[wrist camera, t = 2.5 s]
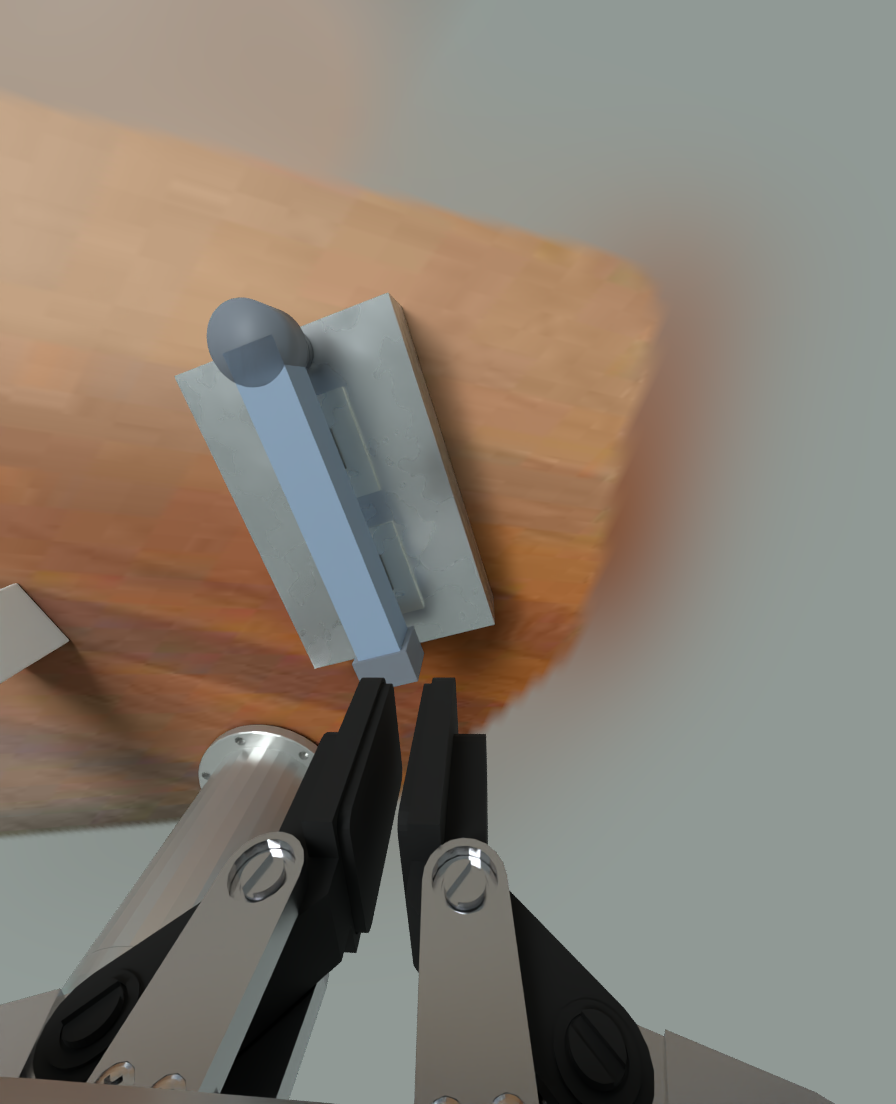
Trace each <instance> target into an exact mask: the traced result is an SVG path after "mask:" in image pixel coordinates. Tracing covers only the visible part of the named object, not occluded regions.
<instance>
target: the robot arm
mask: <svg viewBox="0 0 896 1104" xmlns="http://www.w3.org/2000/svg"><path fill="white" fill-rule="evenodd" d="M486 755H487V754H486V734H458V718H457V699H456V682H455V678H433V679H432V684H424V687H423V692H422V697H421V702H420V707H419V712H418V717H417V722H416V727H415V732H414V737H413V742H412V747H411V752H410V757H409V762H408V767H407V772H406V777H405V781H404V786H403V791H402V796H401V801H400V806H399V813H398V840H399V848H400V857H401V865H402V874H403V882H404V890H405V898H406V907H407V915H408V923H409V931H410V940H411V948H412V956H413V964H414V967H415V968H416V970H417V971H418V972H419V985H418V986H419V987H418V1014H417V1042H416V1043H417V1044H416V1071H415V1073H416V1074H415V1100H414V1104H834V1103H833V1102H831V1101H829V1100H827V1099H826V1098H824V1097H822V1096H821V1095H819V1094H818V1093H816V1092H814V1091H811V1090H809V1089H807V1088H804V1087H802V1086H799V1085H797V1084H795V1083H792V1082H790V1081H788V1080H785V1079H783V1078H780V1077H778V1076H775V1075H773V1074H771V1073H768V1072H766V1071H764V1070H761V1069H759V1068H756V1067H754V1066H752V1065H749V1064H747V1063H744V1062H742V1061H740V1060H737V1059H735V1058H733V1057H730V1056H728V1055H725V1054H723V1053H721V1052H718V1051H716V1050H713V1049H711V1048H708V1047H706V1046H704V1045H701V1044H699V1043H697V1042H694V1041H692V1040H689V1039H687V1038H685V1037H682V1036H680V1035H678V1034H675V1033H673V1032H670V1031H668V1030H665V1034H664V1036H662V1035H660V1034H658V1033H655V1032H653V1031H651V1030H648V1029H646V1028H643V1027H641V1026H639V1025H637V1024H636V1023H635V1022H634V1020H633V1019H632V1018H631V1016H630V1015H629V1014H628V1013H627V1011H626V1010H625V1009H624V1008H623V1007H622V1006H621V1004H620V1003H619V1002H618V1001H617V1000H616V999H615V998H614V997H613V996H612V995H611V994H610V993H609V992H608V991H607V990H606V989H605V988H604V987H603V986H602V985H601V984H600V983H599V982H598V981H597V980H596V979H595V978H594V977H593V976H592V975H591V974H590V973H589V972H588V971H587V970H586V969H585V968H584V967H583V966H582V964H581V963H580V962H578V960H576V958H575V957H574V956H573V955H572V954H571V953H570V952H569V951H568V950H567V949H566V948H565V947H564V946H563V945H562V944H561V943H560V942H559V941H558V940H557V939H556V938H555V937H554V936H553V935H552V934H551V933H550V932H549V931H548V930H547V929H546V928H545V927H544V926H543V925H542V924H541V922H540V921H539V920H538V919H537V918H536V917H534V915H533V914H532V913H531V912H530V911H529V910H528V909H527V908H526V907H525V906H524V905H523V904H522V903H521V902H520V901H519V900H518V899H517V898H516V897H515V896H514V895H513V894H512V893H511V892H510V891H509V886H508V879H507V874H506V870H505V867H504V863H503V861H502V860H501V858H500V857H499V855H498V854H497V852H496V851H495V850H493V849H492V848H491V847H490V846H488V830H487V829H488V826H487V825H488V819H487V758H486V757H487V756H486ZM198 775H199V782H200V787H201V791H200V792H199V793H198V795H197V796H196V798H195V799H194V801H193V802H192V803H191V805H190V806H189V808H188V809H187V811H186V812H185V813H184V815H183V816H182V818H181V819H180V820H179V822H178V823H177V825H176V826H175V828H174V829H173V830H172V832H171V833H170V835H169V836H168V838H167V839H166V840H165V842H164V843H163V845H162V846H161V847H160V849H159V850H158V852H157V853H156V855H155V856H154V858H153V859H152V860H151V862H150V863H149V865H148V866H147V867H146V869H145V870H144V872H143V873H142V875H141V876H140V877H139V879H138V880H137V882H136V883H135V884H134V886H133V887H132V889H131V890H130V892H129V893H128V894H127V896H126V897H125V899H124V900H123V902H122V903H121V904H120V906H119V907H118V909H117V910H116V911H115V913H114V914H113V916H112V917H111V919H110V920H109V921H108V923H107V924H106V926H105V927H104V929H103V930H102V931H101V933H100V934H99V936H98V937H97V939H96V940H95V942H94V943H93V944H92V946H91V947H90V948H89V950H88V952H87V953H86V954H85V956H84V957H83V958H82V960H81V961H80V963H79V964H78V966H77V967H76V969H75V970H74V971H73V973H72V974H71V976H70V977H69V978H68V980H67V981H66V983H65V984H64V986H63V987H62V989H57V990H53V991H49V992H45V993H42V994H38V995H34V996H31V997H27V998H24V999H20V1000H16V1001H12V1002H9V1003H5V1004H2V1005H0V1104H331V1103H320V1102H308V1101H297V1100H289V1098H290V1095H291V1092H292V1089H293V1086H294V1083H295V1080H296V1077H297V1074H298V1071H299V1068H300V1065H301V1062H302V1059H303V1056H304V1053H305V1050H306V1047H307V1044H308V1041H309V1038H310V1035H311V1032H312V1029H313V1026H314V1023H315V1020H316V1017H317V1014H318V1011H319V1008H320V1006H321V1002H322V999H323V997H324V994H325V991H326V987H327V982H328V977H329V972H330V971H331V970H332V969H333V968H334V967H336V966H337V965H338V964H339V963H340V962H341V961H342V957H343V953H344V952H350V953H356V952H357V947H358V944H359V939H360V934H361V933H368V932H369V931H370V928H371V925H372V920H373V916H374V911H375V906H376V901H377V896H378V891H379V886H380V881H381V877H382V873H383V868H384V863H385V858H386V853H387V849H388V844H389V839H390V834H391V829H392V825H393V820H394V815H395V810H396V805H397V801H398V796H399V791H400V786H401V781H402V761H401V752H400V742H399V733H398V724H397V715H396V706H395V696H394V688H393V684H392V683H386V680H385V678H379V677H363V678H361V680H360V682H359V684H358V687H357V689H356V691H355V694H354V696H353V699H352V701H351V703H350V706H349V708H348V710H347V713H346V715H345V718H344V720H343V722H342V725H341V727H340V729H339V732H327V733H325V734H324V735H323V737H322V739H321V741H320V743H319V745H318V746H316V745H315V744H314V743H312V742H311V741H309V740H308V739H306V738H305V737H303V736H301V735H299V734H297V733H295V732H293V731H290V730H287V729H283V728H280V727H276V726H269V725H247V726H241V727H237V728H234V729H232V730H229V731H227V732H225V733H224V734H222V735H221V736H219V737H218V738H217V739H216V740H215V741H214V742H213V743H212V744H211V745H210V747H209V748H208V750H207V751H206V752H205V754H204V755H203V757H202V760H201V762H200V765H199V773H198Z"/></svg>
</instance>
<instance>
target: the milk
mask: <svg viewBox="0 0 896 1104" xmlns="http://www.w3.org/2000/svg"><path fill="white" fill-rule="evenodd" d="M68 641H69V639H68V638H67V637H66V636H65V635H64V634H63V633H62V632H61V630H60V629H59V628H58V627H57V626H56V625H55V624H54V623H53V622H52V621H51V620H50V619H49V617H48V616H47V615H46V614H45V613H44V612H43V611H42V610H41V609H40V608H39V607H38V606H37V604H36V603H35V602H34V601H33V600H32V599H31V598H30V597H29V596H28V595H27V594H26V593H25V591H24V590H23V589H22V588H21V587H20V586H19V585H18V584H17V583H15V584H12V585H10V586H7V587H5V588H2V589H0V683H2V682H4V681H5V680H7V679H8V678H10V677H12V676H13V675H15V674H17V673H18V672H20V671H22V670H23V669H25V668H26V667H28V666H30V665H31V664H33V663H35V662H36V661H38V660H40V659H41V658H43V657H44V656H46V655H48V654H49V653H51V652H53V651H54V650H56V649H58V648H59V647H61V646H62V645H64V644H66V643H67V642H68Z"/></svg>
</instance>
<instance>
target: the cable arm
mask: <svg viewBox="0 0 896 1104" xmlns="http://www.w3.org/2000/svg"><path fill="white" fill-rule="evenodd" d="M207 343H208V348H209V352H210V355H211V357H212V359H213V361H214V363H215V365H216V366H217V368H218V369H219V370H220V371H221V373H222V374H223V375H224V376H225V377H227V378H228V379H229V380H231V381H232V382H234V383H236V386H237V388H238V390H239V392H240V395H241V397H242V399H243V402H244V404H245V406H246V408H247V411H248V413H249V415H250V417H251V420H252V422H253V424H254V426H255V429H256V431H257V433H258V435H259V438H260V440H261V442H262V444H263V447H264V449H265V451H266V453H267V456H268V458H269V460H270V463H271V465H272V467H273V469H274V472H275V474H276V476H277V478H278V481H279V483H280V485H281V487H282V490H283V492H284V494H285V496H286V499H287V501H288V503H289V505H290V508H291V510H292V512H293V514H294V517H295V519H296V521H297V524H298V526H299V528H300V530H301V533H302V535H303V537H304V539H305V542H306V544H307V546H308V548H309V551H310V553H311V555H312V557H313V560H314V562H315V564H316V566H317V569H318V571H319V573H320V575H321V578H322V580H323V582H324V585H325V587H326V589H327V591H328V594H329V596H330V598H331V600H332V603H333V605H334V607H335V609H336V612H337V614H338V616H339V618H340V621H341V623H342V625H343V627H344V630H345V632H346V634H347V636H348V639H349V641H350V643H351V646H352V648H353V650H354V652H355V655H356V657H355V659H354V661H353V663H352V665H353V668H354V670H355V672H356V674H357V676H358V679H359V681H360V680H361V678H363V677H379V678H385V680H386V683H392V684H393V687H395V686H399V685H403V684H408V683H412V682H416V681H418V678H419V674H420V670H421V665H422V661H423V656H424V652H423V649H422V646H421V644H420V641H419V639H418V636H417V634H416V631H415V628H414V626H410V627H407V625H406V623H405V620H404V618H403V615H402V613H401V610H400V608H399V605H398V602H397V600H396V597H395V595H394V592H393V590H392V587H391V585H390V582H389V580H388V577H387V574H386V572H385V569H384V567H383V564H382V562H381V559H380V557H379V554H378V551H377V549H376V546H375V544H374V541H373V539H372V536H371V534H370V531H369V528H368V526H367V523H366V521H365V518H364V516H363V513H362V511H361V508H360V506H359V503H358V500H357V498H356V495H355V493H354V490H353V488H352V485H351V483H350V480H349V477H348V475H347V472H346V470H345V467H344V465H343V462H342V460H341V457H340V455H339V452H338V449H337V447H336V444H335V442H334V439H333V437H332V434H331V432H330V429H329V426H328V424H327V421H326V419H325V416H324V414H323V411H322V409H321V406H320V403H319V401H318V398H317V396H316V393H315V391H314V388H313V386H312V383H311V381H310V378H309V375H308V373H307V370H306V368H305V367H306V363H307V358H308V348H307V342H306V339H305V336H304V333H303V331H302V329H301V328H300V326H299V325H298V323H297V322H296V321H295V320H294V319H293V318H292V317H291V316H290V315H288V314H287V313H285V312H283V311H281V310H279V309H276V308H274V307H271V306H268V305H266V304H263V303H261V302H258V301H255V300H252V299H249V298H233V299H230V300H227V301H226V302H224V303H222V304H221V305H220V306H219V307H218V308H217V309H216V310H215V311H214V313H213V314H212V316H211V318H210V321H209V323H208V328H207Z"/></svg>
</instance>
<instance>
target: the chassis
mask: <svg viewBox="0 0 896 1104" xmlns="http://www.w3.org/2000/svg"><path fill="white" fill-rule="evenodd" d="M300 328H301V329H302V331H303V333H304V336H305V339H306V342H307V348H308V358H307V363H306V367H305V368H306V370H307V373H308V375H309V378H310V381H311V383H312V386H313V388H314V391H315V393H316V396H317V398H318V401H319V403H320V406H321V409H322V411H323V414H324V416H325V419H326V421H327V424H328V426H329V429H330V432H331V434H332V437H333V439H334V442H335V444H336V447H337V449H338V452H339V455H340V457H341V460H342V462H343V465H344V467H345V470H346V472H347V475H348V477H349V480H350V483H351V485H352V488H353V490H354V493H355V495H356V498H357V500H358V503H359V506H360V508H361V511H362V513H363V516H364V518H365V521H366V523H367V526H368V528H369V531H370V534H371V536H372V539H373V541H374V544H375V546H376V549H377V551H378V554H379V557H380V559H381V562H382V564H383V567H384V569H385V572H386V574H387V577H388V580H389V582H390V585H391V587H392V590H393V592H394V595H395V597H396V600H397V602H398V605H399V608H400V610H401V613H402V615H403V618H404V620H405V623H406V625H407V627H410V626H414V628H415V631H416V634H417V636H418V639H419V641H420V643H421V642H425V641H429V640H433V639H437V638H441V637H446V636H450V635H454V634H458V633H462V632H466V631H470V630H474V629H478V628H482V627H486V626H490V625H495V618H494V597H493V594H492V591H491V588H490V585H489V582H488V578H487V575H486V572H485V569H484V566H483V563H482V559H481V556H480V553H479V550H478V547H477V544H476V540H475V537H474V534H473V531H472V528H471V525H470V521H469V518H468V515H467V512H466V509H465V506H464V502H463V499H462V496H461V493H460V490H459V487H458V483H457V480H456V477H455V474H454V471H453V468H452V464H451V461H450V458H449V455H448V452H447V449H446V446H445V442H444V439H443V436H442V433H441V430H440V427H439V423H438V420H437V417H436V414H435V411H434V408H433V404H432V401H431V398H430V395H429V392H428V389H427V385H426V382H425V379H424V376H423V373H422V370H421V366H420V363H419V360H418V357H417V354H416V351H415V347H414V344H413V341H412V338H411V335H410V332H409V328H408V325H407V322H406V319H405V316H404V313H403V309H402V306H401V305H400V304H399V303H398V302H397V301H396V300H395V299H394V298H393V297H392V296H391V295H390V294H389V293H386V294H383V295H380V296H378V297H375V298H373V299H370V300H368V301H365V302H363V303H360V304H357V305H355V306H352V307H350V308H347V309H345V310H342V311H340V312H337V313H334V314H332V315H329V316H327V317H324V318H322V319H319V320H317V321H314V322H312V323H309V324H306V325H304V326H301V327H300ZM174 377H175V379H176V381H177V383H178V385H179V387H180V389H181V391H182V393H183V395H184V397H185V399H186V402H187V404H188V406H189V408H190V410H191V412H192V414H193V416H194V418H195V420H196V422H197V424H198V426H199V429H200V431H201V433H202V435H203V437H204V439H205V441H206V443H207V445H208V447H209V449H210V451H211V454H212V456H213V458H214V460H215V462H216V464H217V466H218V468H219V470H220V472H221V474H222V476H223V478H224V481H225V483H226V485H227V487H228V489H229V491H230V493H231V495H232V497H233V499H234V501H235V503H236V505H237V508H238V510H239V512H240V514H241V516H242V518H243V520H244V522H245V524H246V526H247V528H248V530H249V533H250V535H251V537H252V539H253V541H254V543H255V545H256V547H257V549H258V551H259V553H260V555H261V557H262V560H263V562H264V564H265V566H266V568H267V570H268V572H269V574H270V576H271V578H272V580H273V582H274V584H275V587H276V589H277V591H278V593H279V595H280V597H281V599H282V601H283V603H284V605H285V607H286V609H287V612H288V614H289V616H290V618H291V620H292V622H293V624H294V626H295V628H296V630H297V632H298V634H299V636H300V639H301V641H302V643H303V645H304V647H305V649H306V651H307V653H308V655H309V657H310V659H311V661H312V663H313V666H314V668H319V667H323V666H327V665H331V664H335V663H339V662H343V661H348V660H352V659H355V657H356V655H355V652H354V650H353V648H352V646H351V643H350V641H349V639H348V636H347V634H346V632H345V630H344V627H343V625H342V623H341V621H340V618H339V616H338V614H337V612H336V609H335V607H334V605H333V603H332V600H331V598H330V596H329V594H328V591H327V589H326V587H325V585H324V582H323V580H322V578H321V575H320V573H319V571H318V569H317V566H316V564H315V562H314V560H313V557H312V555H311V553H310V551H309V548H308V546H307V544H306V542H305V539H304V537H303V535H302V533H301V530H300V528H299V526H298V524H297V521H296V519H295V517H294V514H293V512H292V510H291V508H290V505H289V503H288V501H287V499H286V496H285V494H284V492H283V490H282V487H281V485H280V483H279V481H278V478H277V476H276V474H275V472H274V469H273V467H272V465H271V463H270V460H269V458H268V456H267V453H266V451H265V449H264V447H263V444H262V442H261V440H260V438H259V435H258V433H257V431H256V429H255V426H254V424H253V422H252V420H251V417H250V415H249V413H248V411H247V408H246V406H245V404H244V402H243V399H242V397H241V395H240V392H239V390H238V388H237V386H236V383H234V382H232V381H231V380H229V379H228V378H227V377H225V376H224V375H223V374H222V373H221V371H220V370H219V369H218V368H217V366H216V365H215V363H214V361H212V362H209V363H207V364H204V365H202V366H199V367H197V368H194V369H192V370H189V371H187V372H184V373H181V374H179V375H176V376H174Z"/></svg>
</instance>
